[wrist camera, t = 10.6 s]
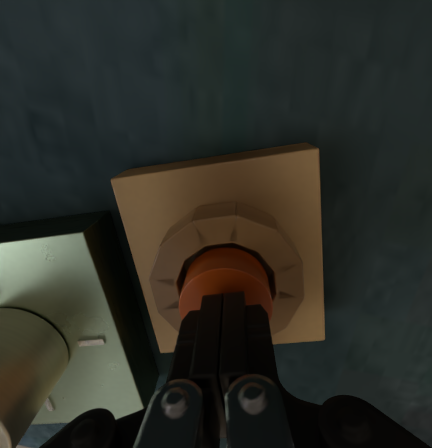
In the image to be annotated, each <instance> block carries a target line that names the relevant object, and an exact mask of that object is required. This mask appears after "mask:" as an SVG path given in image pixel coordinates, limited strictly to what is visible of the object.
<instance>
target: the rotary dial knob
mask: <svg viewBox="0 0 432 448" xmlns="http://www.w3.org/2000/svg"><path fill="white" fill-rule="evenodd" d="M68 360H69V354H68V349H67V346H66V343H65V341H64V340H63V338H62V336H61V335H60V334H59V333H58V331H57V330H56V329H55V328H54V327H53V326H52V325H50V324H49V323H48V322H47V321H45V320H44V319H42V318H40V317H38V316H36V315H34V314H32V313H30V312H27V311H23V310H19V309H13V308H0V448H16V446H17V445H18V443H19V441H20V440H21V438H22V437H23V435H24V434H25V432H26V431H27V429H28V427H29V426H30V424H31V423H32V421H33V420H34V418H35V417H36V415H37V413H38V412H39V410H40V409H41V407H42V406H43V404H44V403H45V401H46V399H47V398H48V396H49V395H50V393H51V392H52V390H53V389H54V387H55V385H56V384H57V382H58V381H59V379H60V378H61V376H62V375H63V373H64V371H65V370H66V368H67V365H68Z"/></svg>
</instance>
